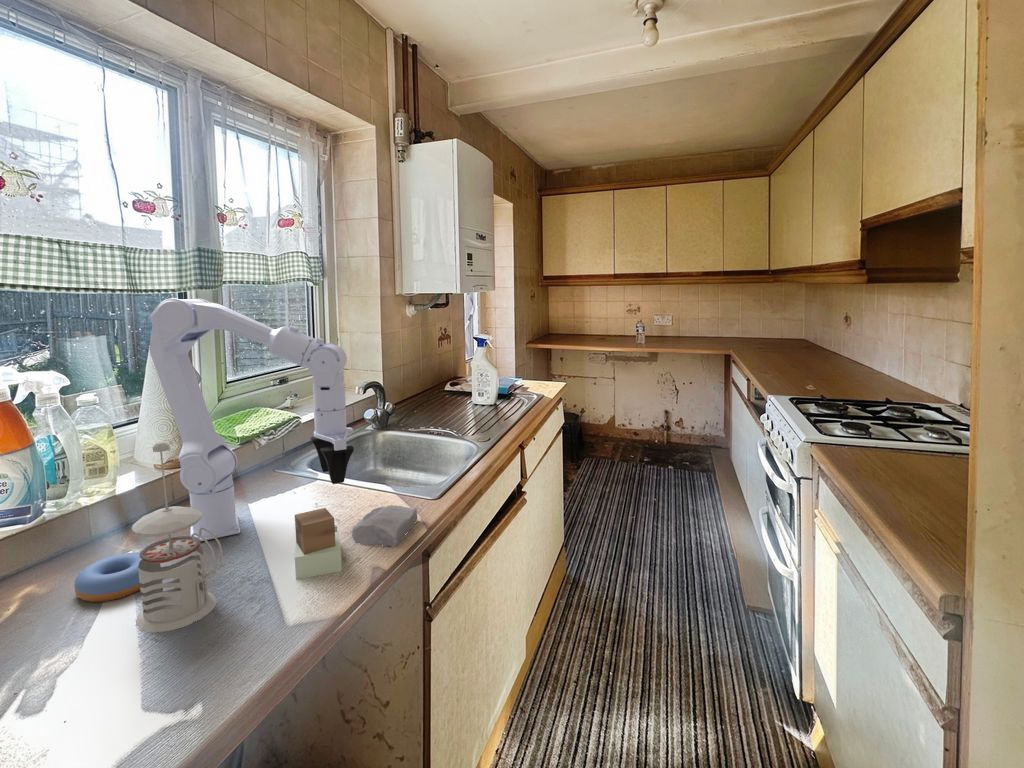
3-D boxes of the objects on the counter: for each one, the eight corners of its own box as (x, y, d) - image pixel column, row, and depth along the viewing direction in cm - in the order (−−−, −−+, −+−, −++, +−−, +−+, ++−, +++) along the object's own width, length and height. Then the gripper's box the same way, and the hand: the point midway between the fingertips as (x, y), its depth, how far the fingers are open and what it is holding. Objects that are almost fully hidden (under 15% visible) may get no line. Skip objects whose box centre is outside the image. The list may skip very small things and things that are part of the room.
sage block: (297, 559, 87) (295, 538, 86) (339, 552, 89) (338, 531, 88) (295, 580, 80) (294, 557, 79) (341, 572, 83) (340, 550, 82)
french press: (168, 589, 77) (151, 431, 73) (242, 592, 76) (230, 433, 72) (116, 631, 67) (93, 451, 63) (201, 634, 67) (184, 454, 62)
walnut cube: (296, 542, 84) (294, 514, 83) (326, 534, 87) (325, 507, 86) (304, 554, 80) (302, 525, 80) (335, 546, 83) (334, 517, 82)
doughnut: (139, 600, 73) (135, 570, 73) (59, 612, 71) (55, 581, 71) (169, 571, 83) (165, 544, 83) (99, 581, 81) (96, 553, 81)
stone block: (349, 553, 92) (399, 548, 90) (344, 528, 92) (394, 523, 90) (377, 527, 104) (422, 522, 102) (372, 505, 103) (417, 500, 102)
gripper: (362, 413, 91) (364, 484, 93) (341, 399, 103) (344, 463, 105) (321, 417, 87) (325, 491, 89) (305, 402, 99) (308, 468, 101)
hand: (332, 476), depth 97 cm, fingers open, 7 cm apart
